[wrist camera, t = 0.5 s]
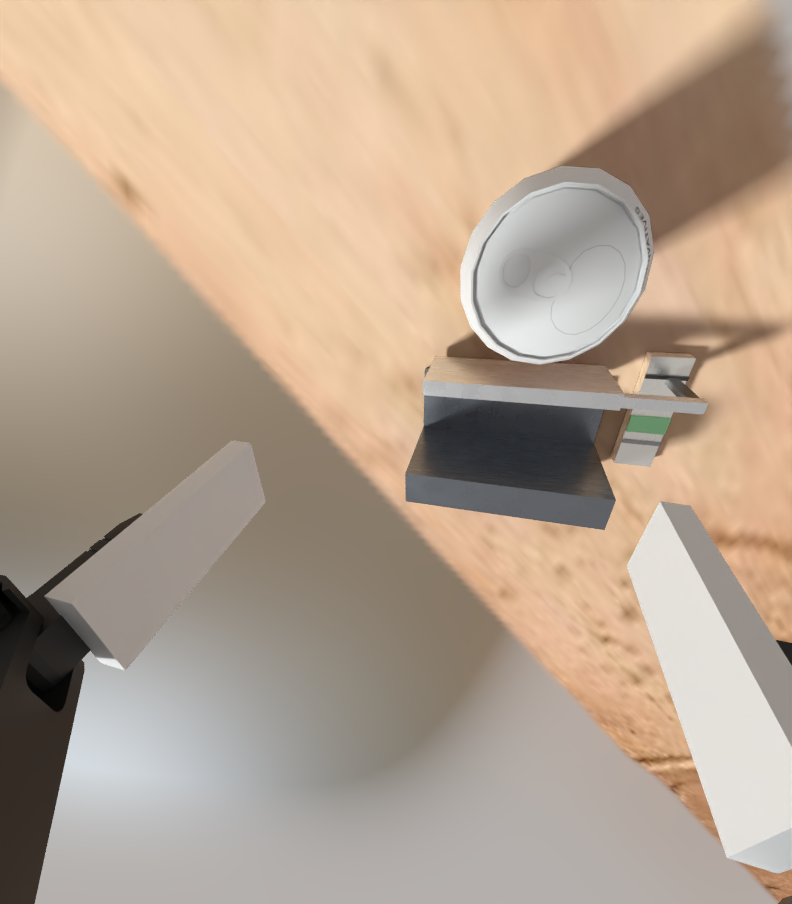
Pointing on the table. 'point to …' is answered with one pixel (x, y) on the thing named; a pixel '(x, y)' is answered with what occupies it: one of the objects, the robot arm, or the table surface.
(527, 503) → the gauge housing
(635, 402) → the gauge plunger
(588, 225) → the supplement can
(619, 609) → the table surface
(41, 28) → the table surface
